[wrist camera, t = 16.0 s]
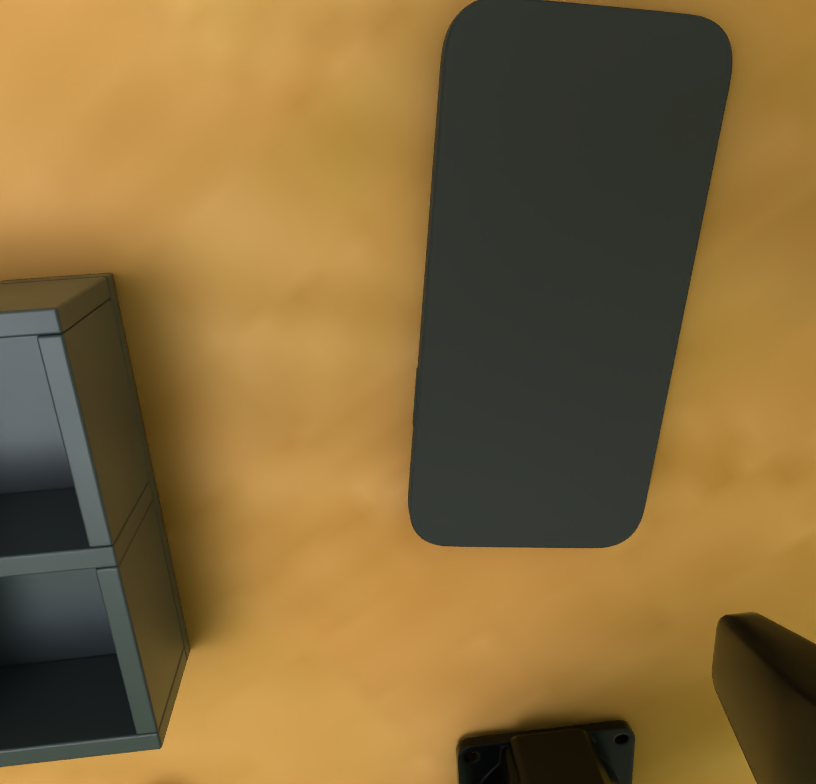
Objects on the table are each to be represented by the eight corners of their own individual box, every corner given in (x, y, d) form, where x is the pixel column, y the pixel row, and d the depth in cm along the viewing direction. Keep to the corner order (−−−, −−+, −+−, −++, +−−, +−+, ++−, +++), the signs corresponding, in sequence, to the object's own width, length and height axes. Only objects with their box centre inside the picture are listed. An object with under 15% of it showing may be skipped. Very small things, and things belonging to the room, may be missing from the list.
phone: (746, 18, 17) (639, 549, 22) (729, 23, 18) (629, 535, 23) (447, -10, 17) (405, 546, 22) (442, -3, 17) (402, 532, 22)
